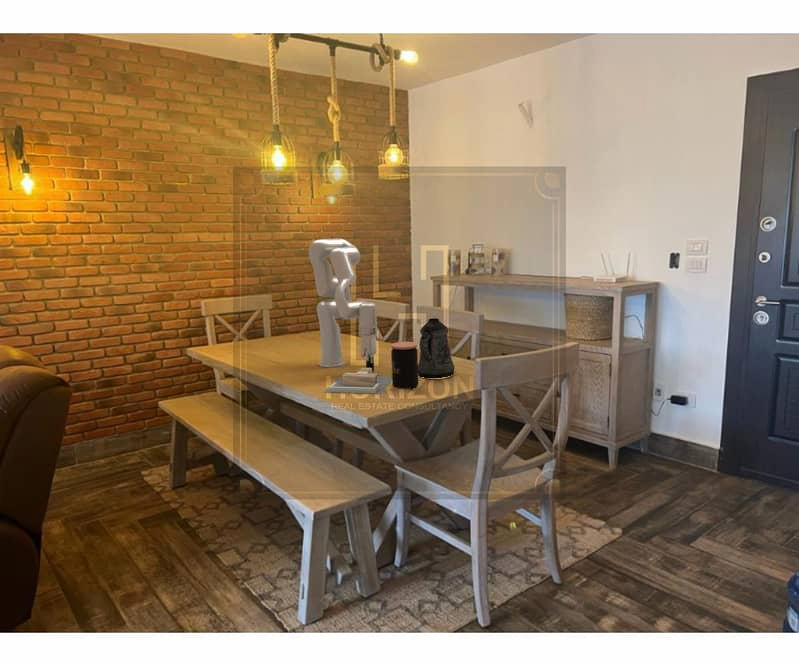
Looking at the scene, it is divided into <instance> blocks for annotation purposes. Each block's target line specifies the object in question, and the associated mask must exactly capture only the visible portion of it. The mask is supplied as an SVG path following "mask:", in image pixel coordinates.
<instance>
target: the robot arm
mask: <svg viewBox="0 0 799 666" xmlns="http://www.w3.org/2000/svg"><path fill="white" fill-rule="evenodd" d="M308 257H309V260H310V262H311V265H312V267H313V273H314V280H315V287H316V291H317V294H318V296H319V297H322V298H327V297H334V298H330V299H324V300H321V301H320V302H318V304H317V306H316V314H317V318H318V323H319V332H320V350H321V360H320V361H319V362H318V366H320V367H321V368H338V367H343V366H345V364H346V360H343V359H342V356H343V353H342V343H341V341H342V339H341V337H342V336H341V328H340V325H339V323H338V322H337V321H336V319H337V320H338V319H343V320H354V319H359V335H360V336H361V337H360V357H361V358H363V359H364V357H365V359H364V360H365V368H372V373H373V372H375V362H374V361H375V355H377V354H376V353H377V337H376V335H377V334H378V324H377V322H378V320H377V306H376V305H377V304H376V303H374V302H369V301H366V300H355V301H353V300H352V295H351V289H350V286H351V285H352V284H353V283H354V282H356V280H357V276H356V272H355V270H354V267H353V266H356V265H358V264H359V263H360V262H361V253H360V251H359V249H358V248H357V247H356V246H355V245H354V244H352V243H350V241H347V240H345V239H344V238H320V239H316V240H314V241H312V242H311V243H310V244H309V248H308ZM326 258H329V259H330V262H331V263H330V262H329V261H328V259H326ZM333 270H334V271H333ZM333 272H334V274H333Z"/></svg>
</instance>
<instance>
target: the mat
mask: <svg viewBox="0 0 799 666" xmlns="http://www.w3.org/2000/svg"><path fill="white" fill-rule="evenodd" d="M342 376H343V375H341V376H339V377H338V378H337V379H336V380H335V381H333V382H332V383H331V384H330V385H329V386H328V387H327V388H326V389H325V390H323V392H322V394H323V393H324V394H353V395H355V394H358V395H359V394H360V395H382V394H383V393H384V392H385V390H386V389H387V388H388V386H389V385H390V384H391V382H392V376H382V375H381V376H379V375H378V383H377V384H376V385H375V386H360V385H343V380H342Z"/></svg>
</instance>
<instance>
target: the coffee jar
mask: <svg viewBox="0 0 799 666" xmlns="http://www.w3.org/2000/svg"><path fill="white" fill-rule="evenodd" d="M390 346H391V352H390V353H391V356H390V357H391V377H392V381H391V382H392V383H391V384H392V387H394V388H396V389H397V388H398V389H409V391H412V390H415V389H417V388H416V387H418V386H419V374H418V364H419V359H418V357H419V356H418V348H417V347H418V343H416V342H413V341H398V342H394V343H391V344H390ZM414 388H415V389H414ZM411 389H412V390H411Z"/></svg>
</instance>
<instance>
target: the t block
mask: <svg viewBox="0 0 799 666" xmlns="http://www.w3.org/2000/svg"><path fill="white" fill-rule="evenodd" d="M341 376H342V380H343V385H360V386H375V385H376V384H377V383H378V376H379V374H378V373H373V372H372V368H366V367H361V368H360V369H359V370H358V371H357V372H345V373H343V374H342V375H341Z"/></svg>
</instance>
